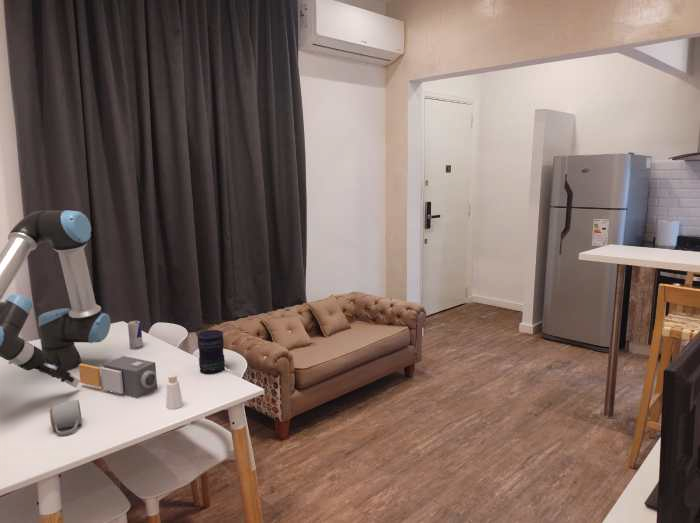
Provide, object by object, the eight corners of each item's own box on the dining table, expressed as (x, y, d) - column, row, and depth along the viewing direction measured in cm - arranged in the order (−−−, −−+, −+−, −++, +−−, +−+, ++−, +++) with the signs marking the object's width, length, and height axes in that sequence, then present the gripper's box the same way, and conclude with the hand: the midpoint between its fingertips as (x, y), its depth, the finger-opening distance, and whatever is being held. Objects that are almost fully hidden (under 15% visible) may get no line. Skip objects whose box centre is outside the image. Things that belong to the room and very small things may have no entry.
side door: (80, 384, 186) (78, 362, 184) (83, 383, 187) (81, 361, 185) (121, 394, 177) (118, 371, 175) (123, 393, 178) (121, 370, 177)
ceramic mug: (52, 424, 159) (49, 401, 157) (81, 417, 163) (79, 395, 161) (52, 440, 150) (48, 416, 148) (82, 432, 154) (80, 409, 152)
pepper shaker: (173, 411, 167) (171, 379, 165) (162, 407, 169) (160, 376, 167) (186, 404, 171) (184, 374, 169) (175, 400, 174) (173, 370, 172)
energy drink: (145, 346, 228) (143, 321, 225) (137, 350, 223) (134, 324, 220) (136, 345, 229) (133, 320, 227) (127, 349, 224) (125, 323, 222)
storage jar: (217, 363, 208) (215, 328, 205) (229, 369, 201) (227, 333, 198) (194, 369, 201) (192, 334, 198) (207, 376, 194) (204, 339, 191)
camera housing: (105, 390, 183) (102, 363, 181) (125, 380, 191) (123, 354, 189) (141, 399, 175) (139, 371, 173) (161, 389, 183) (159, 361, 181)
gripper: (5, 362, 164) (58, 390, 182) (30, 369, 159) (83, 396, 177) (19, 342, 168) (70, 371, 186) (45, 347, 163) (95, 376, 181)
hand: (77, 383), depth 181 cm, fingers closed
